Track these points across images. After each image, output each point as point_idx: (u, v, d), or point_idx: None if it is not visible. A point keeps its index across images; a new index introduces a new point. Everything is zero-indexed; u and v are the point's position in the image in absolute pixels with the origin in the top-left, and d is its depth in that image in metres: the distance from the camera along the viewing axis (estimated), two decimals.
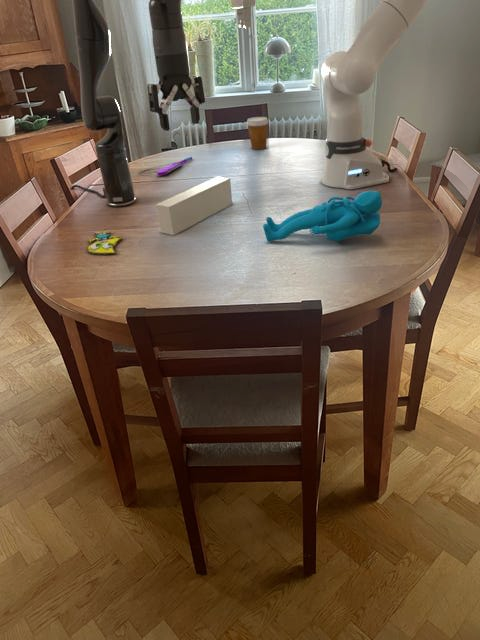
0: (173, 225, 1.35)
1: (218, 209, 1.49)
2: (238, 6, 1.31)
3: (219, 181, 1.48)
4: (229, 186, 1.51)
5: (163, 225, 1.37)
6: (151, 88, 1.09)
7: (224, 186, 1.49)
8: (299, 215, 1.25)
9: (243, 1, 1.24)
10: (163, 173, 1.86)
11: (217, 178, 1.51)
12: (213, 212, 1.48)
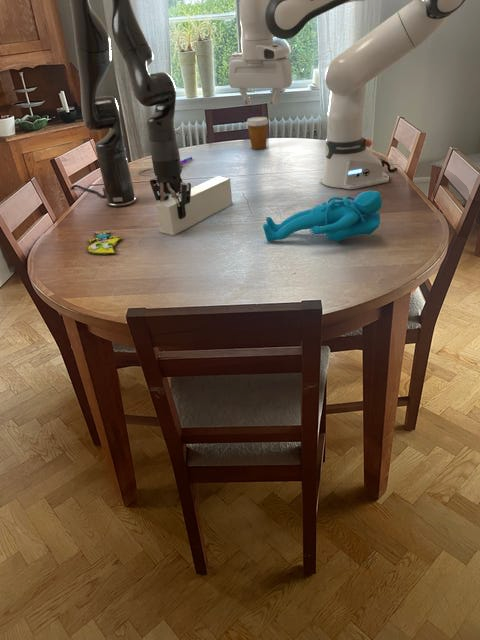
0: (173, 225, 1.35)
1: (218, 209, 1.49)
2: None
3: (219, 181, 1.48)
4: (229, 186, 1.51)
5: (163, 225, 1.37)
6: (189, 187, 1.30)
7: (224, 186, 1.49)
8: (299, 215, 1.25)
9: None
10: None
11: (217, 178, 1.51)
12: (213, 212, 1.48)
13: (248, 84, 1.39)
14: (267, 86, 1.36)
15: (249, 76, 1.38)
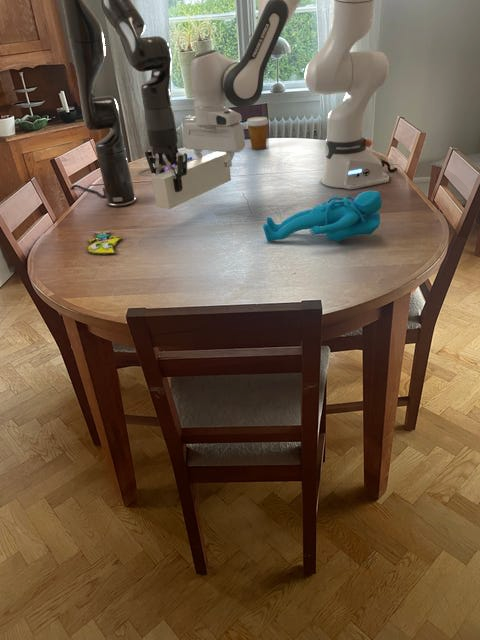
0: (169, 198, 1.31)
1: (216, 184, 1.45)
2: None
3: (217, 155, 1.43)
4: None
5: (159, 199, 1.32)
6: (186, 157, 1.26)
7: (222, 161, 1.44)
8: (299, 215, 1.25)
9: None
10: None
11: (215, 153, 1.46)
12: (211, 187, 1.43)
13: (202, 146, 1.41)
14: (220, 149, 1.38)
15: (203, 139, 1.39)
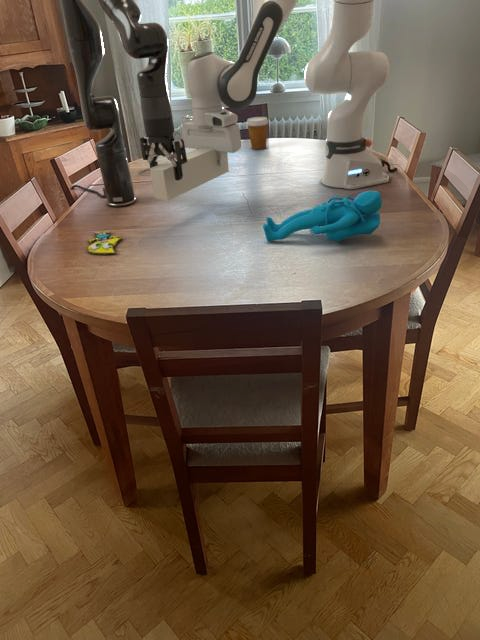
0: (167, 190, 1.31)
1: (214, 176, 1.45)
2: None
3: None
4: None
5: (157, 190, 1.32)
6: (182, 143, 1.23)
7: None
8: (299, 215, 1.25)
9: None
10: None
11: None
12: (209, 179, 1.44)
13: (200, 146, 1.44)
14: (217, 149, 1.41)
15: (201, 138, 1.42)
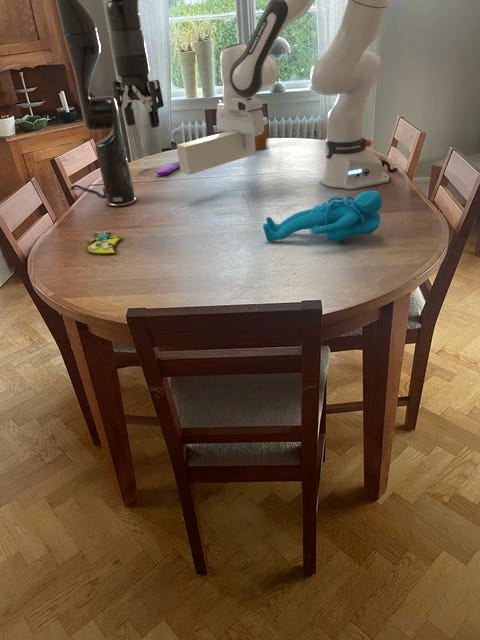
0: (190, 165, 1.48)
1: (239, 157, 1.59)
2: None
3: None
4: (252, 136, 1.60)
5: (182, 165, 1.50)
6: (158, 83, 1.12)
7: None
8: (299, 215, 1.25)
9: None
10: (163, 173, 1.86)
11: None
12: (234, 159, 1.58)
13: (230, 129, 1.59)
14: (243, 132, 1.55)
15: (230, 122, 1.57)
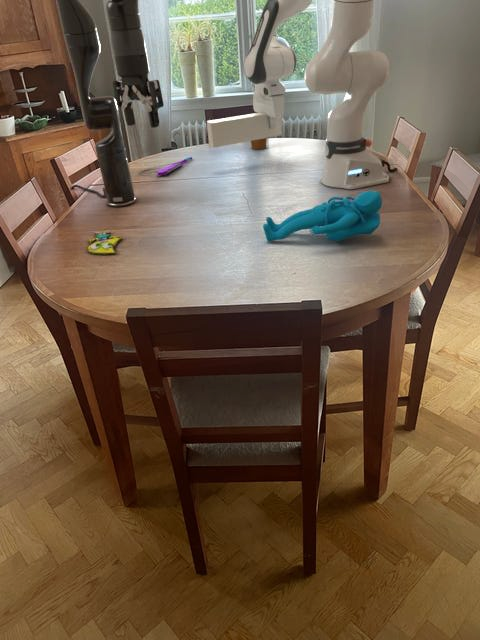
0: (214, 139, 1.74)
1: (264, 136, 1.81)
2: None
3: None
4: (279, 119, 1.80)
5: (209, 139, 1.77)
6: (158, 83, 1.12)
7: None
8: (299, 215, 1.25)
9: None
10: (163, 173, 1.86)
11: None
12: (258, 137, 1.80)
13: (260, 111, 1.81)
14: (268, 114, 1.76)
15: (261, 105, 1.79)
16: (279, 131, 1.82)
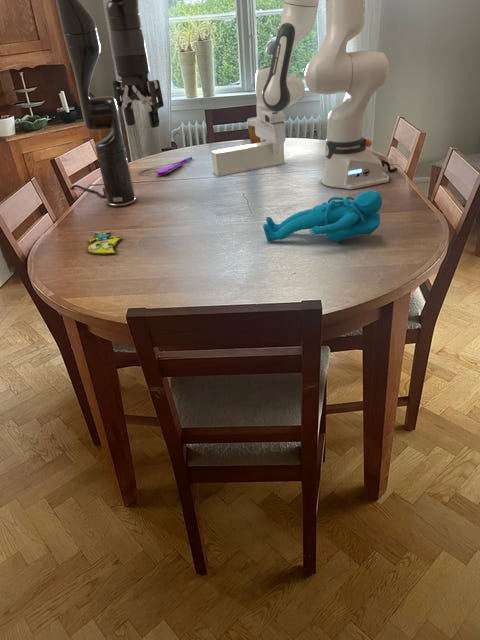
0: (218, 168, 1.80)
1: (267, 165, 1.87)
2: None
3: None
4: (281, 148, 1.86)
5: (214, 167, 1.83)
6: (158, 83, 1.12)
7: None
8: (299, 215, 1.25)
9: None
10: (163, 173, 1.86)
11: None
12: (261, 166, 1.86)
13: (262, 136, 1.86)
14: (269, 140, 1.81)
15: (262, 130, 1.84)
16: (281, 160, 1.88)
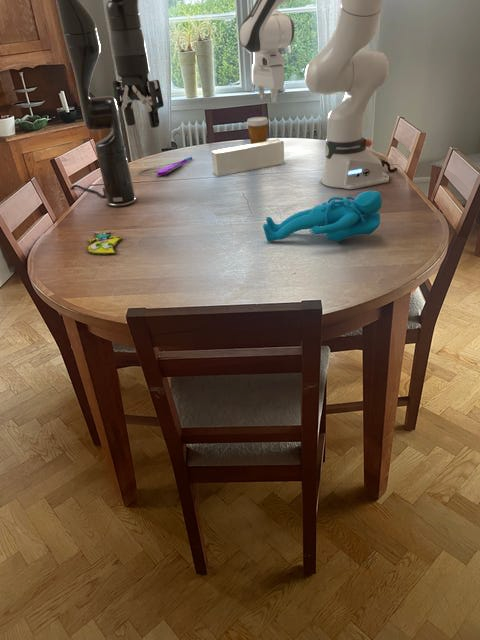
0: (218, 168, 1.80)
1: (267, 165, 1.87)
2: None
3: (272, 142, 1.84)
4: (281, 148, 1.86)
5: (214, 167, 1.83)
6: (158, 83, 1.12)
7: (275, 147, 1.85)
8: (299, 215, 1.25)
9: None
10: (163, 173, 1.86)
11: (275, 140, 1.87)
12: (261, 166, 1.86)
13: (259, 83, 1.76)
14: (267, 86, 1.71)
15: (260, 77, 1.74)
16: (281, 160, 1.88)
